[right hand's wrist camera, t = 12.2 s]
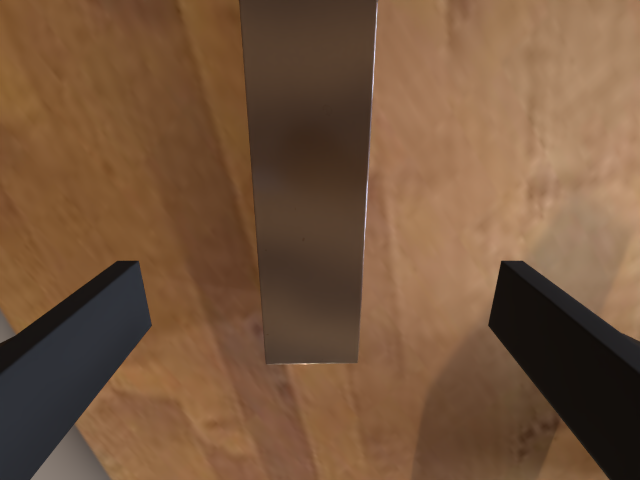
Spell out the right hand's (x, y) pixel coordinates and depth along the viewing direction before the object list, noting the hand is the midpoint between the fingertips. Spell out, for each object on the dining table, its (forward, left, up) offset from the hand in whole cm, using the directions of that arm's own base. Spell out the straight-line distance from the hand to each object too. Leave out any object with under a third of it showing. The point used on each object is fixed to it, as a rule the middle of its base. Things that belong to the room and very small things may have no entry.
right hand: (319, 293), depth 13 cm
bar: (+2, -18, -12) cm, 22 cm away
